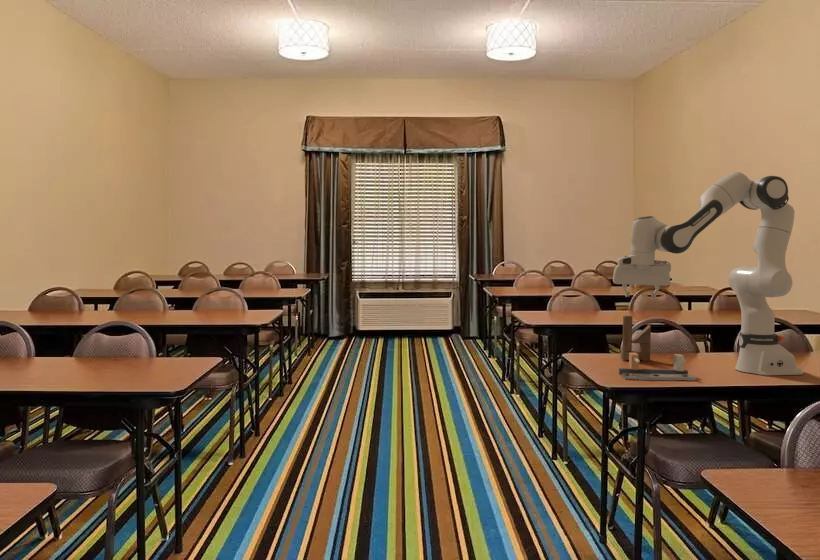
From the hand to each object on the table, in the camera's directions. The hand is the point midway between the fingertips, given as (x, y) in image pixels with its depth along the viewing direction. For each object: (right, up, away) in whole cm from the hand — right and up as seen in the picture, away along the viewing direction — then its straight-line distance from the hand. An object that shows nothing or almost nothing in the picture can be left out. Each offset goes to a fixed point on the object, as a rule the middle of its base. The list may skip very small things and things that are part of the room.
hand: (640, 297), depth 262 cm
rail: (+2, -28, -8) cm, 30 cm away
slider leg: (-5, -26, -8) cm, 28 cm away
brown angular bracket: (+5, -26, +22) cm, 35 cm away
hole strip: (+2, -29, -13) cm, 32 cm away
